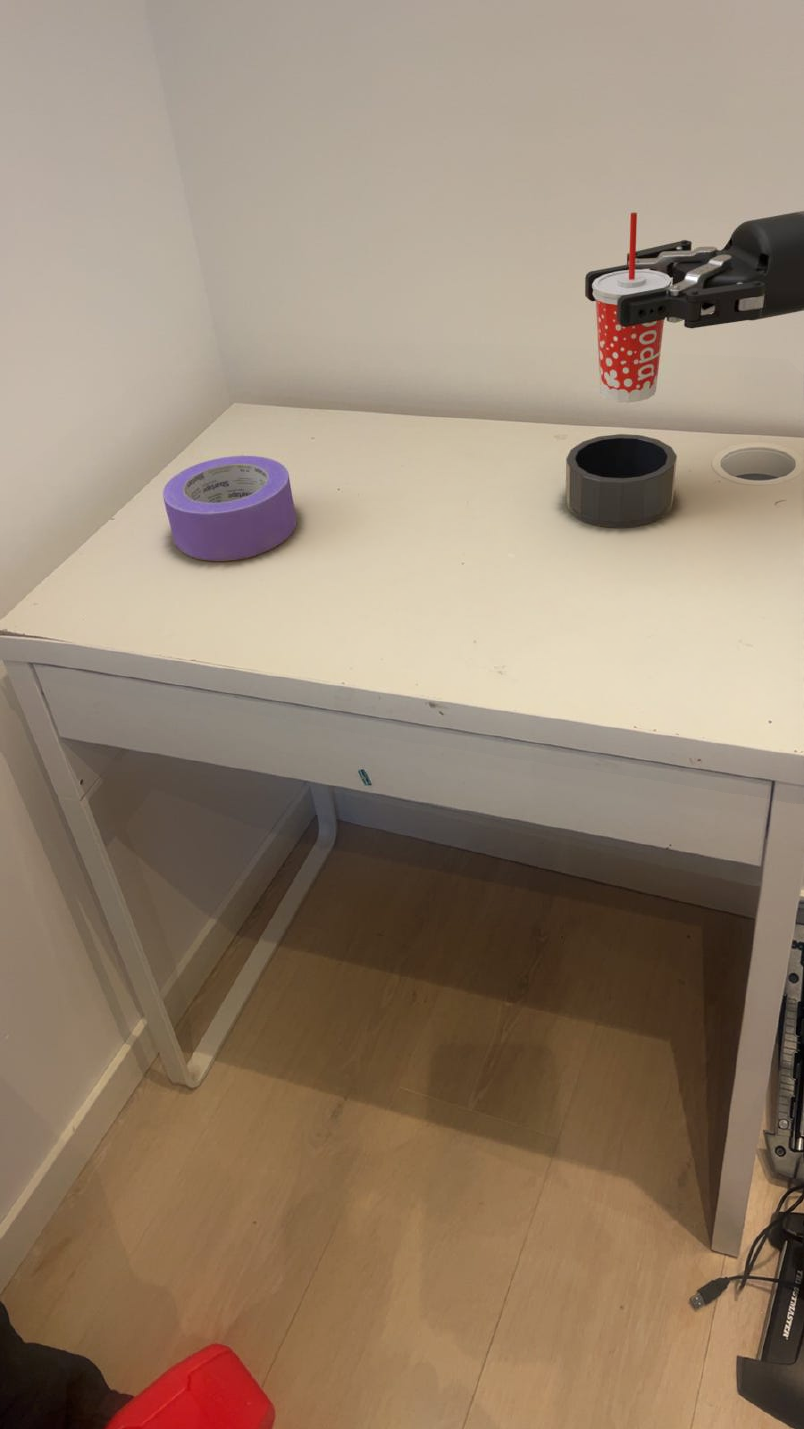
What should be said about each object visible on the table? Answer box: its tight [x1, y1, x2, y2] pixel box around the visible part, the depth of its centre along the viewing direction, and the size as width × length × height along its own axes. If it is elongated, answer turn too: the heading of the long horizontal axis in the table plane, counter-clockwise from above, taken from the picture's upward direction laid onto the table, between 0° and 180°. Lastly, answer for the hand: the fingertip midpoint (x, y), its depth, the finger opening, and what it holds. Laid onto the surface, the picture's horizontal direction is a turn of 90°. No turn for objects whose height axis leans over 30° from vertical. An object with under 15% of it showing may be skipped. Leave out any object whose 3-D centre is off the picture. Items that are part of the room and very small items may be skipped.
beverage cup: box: [592, 212, 673, 404], centre depth 83 cm, size 6×6×14 cm
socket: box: [565, 433, 678, 529], centre depth 95 cm, size 10×10×4 cm
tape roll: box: [162, 455, 297, 562], centre depth 97 cm, size 12×12×5 cm
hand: (603, 299), depth 82 cm, fingers closed on beverage cup, 6 cm apart
